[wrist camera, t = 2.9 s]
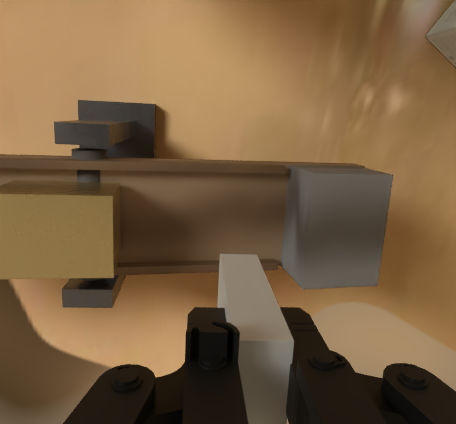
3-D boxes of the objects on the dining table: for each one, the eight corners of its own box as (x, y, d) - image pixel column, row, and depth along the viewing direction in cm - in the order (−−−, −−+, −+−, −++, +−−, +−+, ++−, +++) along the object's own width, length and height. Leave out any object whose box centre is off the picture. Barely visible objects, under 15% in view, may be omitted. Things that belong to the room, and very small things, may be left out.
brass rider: (12, 180, 24) (-17, 193, 20) (120, 182, 24) (112, 196, 21) (17, 252, 25) (-10, 279, 21) (121, 252, 25) (113, 277, 22)
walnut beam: (-266, 137, 22) (-400, 146, 16) (352, 156, 30) (401, 166, 24) (-234, 278, 24) (-345, 328, 18) (340, 261, 31) (383, 292, 26)
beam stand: (81, 100, 33) (24, 94, 22) (155, 104, 34) (136, 100, 23) (86, 262, 37) (38, 327, 26) (154, 263, 37) (136, 328, 26)
